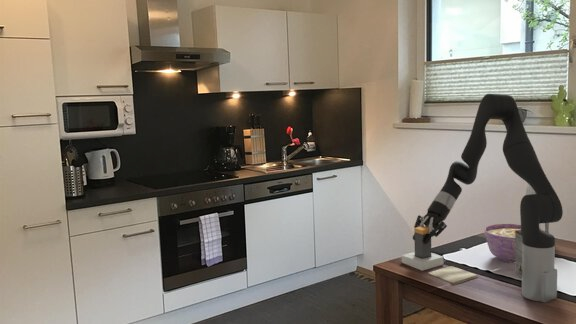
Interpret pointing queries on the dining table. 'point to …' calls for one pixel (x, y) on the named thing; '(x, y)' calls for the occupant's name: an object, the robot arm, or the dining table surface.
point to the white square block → (422, 261)
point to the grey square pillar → (421, 243)
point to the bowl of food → (502, 240)
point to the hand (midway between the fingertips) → (419, 241)
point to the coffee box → (519, 252)
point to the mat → (453, 275)
